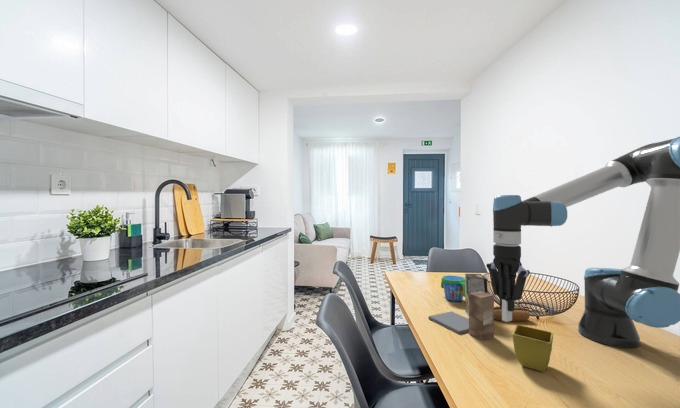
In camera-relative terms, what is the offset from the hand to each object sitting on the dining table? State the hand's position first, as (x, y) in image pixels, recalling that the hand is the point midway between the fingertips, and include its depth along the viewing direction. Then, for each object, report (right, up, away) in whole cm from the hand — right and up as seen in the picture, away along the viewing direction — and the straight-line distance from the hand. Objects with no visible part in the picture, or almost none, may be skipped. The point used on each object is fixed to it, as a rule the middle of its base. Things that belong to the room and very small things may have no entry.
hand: (507, 320), depth 91 cm
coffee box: (+2, -9, +26) cm, 27 cm away
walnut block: (-4, -9, +8) cm, 13 cm away
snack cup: (+2, -9, +46) cm, 47 cm away
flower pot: (+2, -9, -10) cm, 13 cm away
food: (+14, -9, +22) cm, 28 cm away
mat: (-9, -9, +19) cm, 22 cm away
